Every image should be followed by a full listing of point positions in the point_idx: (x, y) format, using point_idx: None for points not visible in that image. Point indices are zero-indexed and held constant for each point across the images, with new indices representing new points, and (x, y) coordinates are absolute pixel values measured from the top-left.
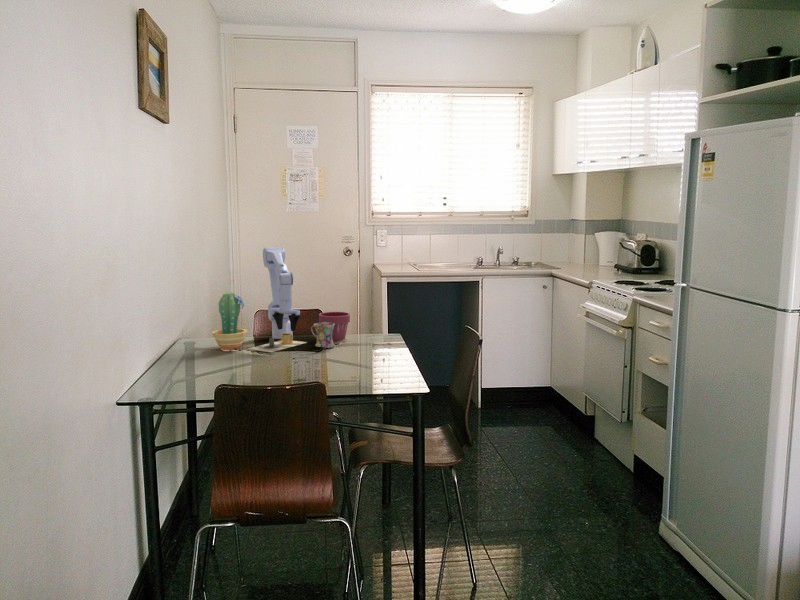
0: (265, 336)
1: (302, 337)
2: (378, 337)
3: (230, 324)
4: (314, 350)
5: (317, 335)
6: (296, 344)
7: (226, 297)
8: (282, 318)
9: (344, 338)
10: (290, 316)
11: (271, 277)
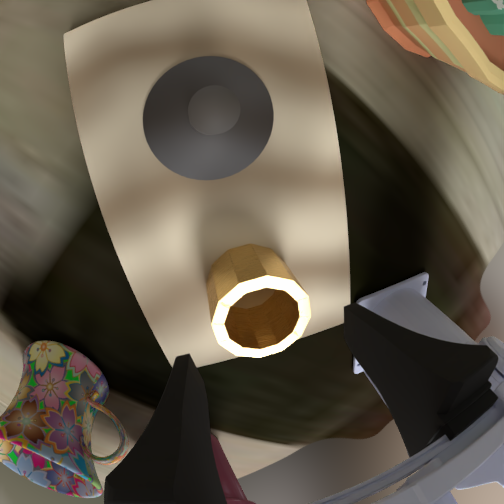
0: (463, 300)
1: (340, 398)
2: None
3: None
4: (27, 307)
5: (37, 396)
6: (159, 302)
7: None
8: (393, 412)
9: None
10: (129, 492)
11: None
